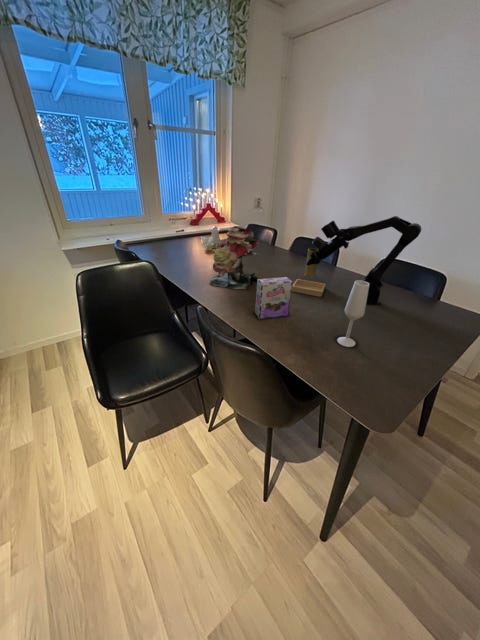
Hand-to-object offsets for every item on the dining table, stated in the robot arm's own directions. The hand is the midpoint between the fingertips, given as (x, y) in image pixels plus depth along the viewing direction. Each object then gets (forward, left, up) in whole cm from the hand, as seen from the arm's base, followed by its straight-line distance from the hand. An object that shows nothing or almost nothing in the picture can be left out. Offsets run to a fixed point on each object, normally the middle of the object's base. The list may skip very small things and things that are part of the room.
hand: (308, 263), depth 146 cm
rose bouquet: (+5, +40, -12) cm, 43 cm away
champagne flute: (-56, 0, -12) cm, 57 cm away
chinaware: (+76, +53, -12) cm, 94 cm away
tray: (-7, +1, -12) cm, 14 cm away
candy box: (-34, +25, -12) cm, 44 cm away
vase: (-1, -1, -7) cm, 7 cm away
